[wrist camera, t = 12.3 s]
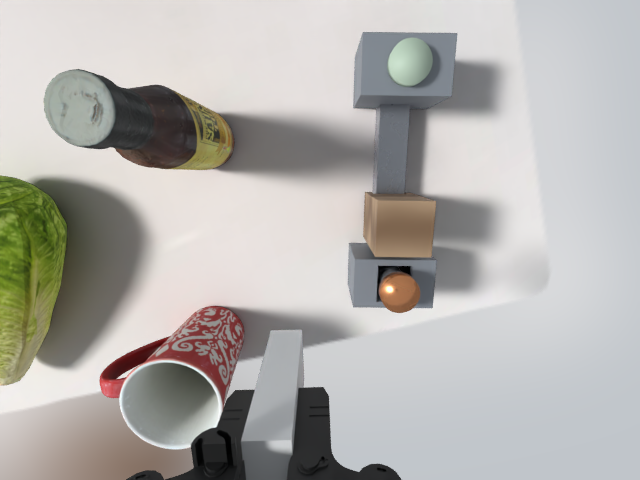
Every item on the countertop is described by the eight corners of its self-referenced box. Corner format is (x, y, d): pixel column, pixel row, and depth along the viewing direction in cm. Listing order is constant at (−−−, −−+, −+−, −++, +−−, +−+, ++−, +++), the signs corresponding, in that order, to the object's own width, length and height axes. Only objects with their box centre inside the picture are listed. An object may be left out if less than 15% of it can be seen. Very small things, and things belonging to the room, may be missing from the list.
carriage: (365, 192, 38) (377, 200, 29) (410, 192, 38) (436, 201, 29) (363, 236, 39) (375, 256, 30) (407, 236, 39) (431, 257, 30)
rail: (376, 108, 37) (380, 104, 34) (404, 108, 37) (410, 104, 34) (370, 243, 40) (373, 248, 38) (395, 243, 40) (400, 248, 38)
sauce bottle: (248, 142, 38) (171, 119, 18) (209, 181, 39) (97, 199, 19) (204, 96, 37) (74, 20, 17) (166, 137, 38) (1, 109, 18)
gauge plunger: (370, 254, 38) (381, 275, 31) (403, 255, 38) (421, 276, 31) (369, 285, 39) (379, 312, 32) (401, 285, 39) (418, 313, 32)
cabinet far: (349, 243, 40) (354, 259, 33) (417, 243, 40) (436, 260, 33) (347, 283, 41) (353, 307, 34) (414, 284, 41) (432, 308, 34)
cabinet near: (354, 57, 36) (364, 27, 28) (431, 58, 36) (462, 28, 28) (353, 107, 37) (361, 92, 29) (427, 108, 37) (455, 94, 29)
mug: (254, 300, 42) (223, 364, 29) (251, 366, 44) (221, 454, 31) (150, 292, 42) (72, 352, 28) (152, 359, 44) (79, 443, 30)
